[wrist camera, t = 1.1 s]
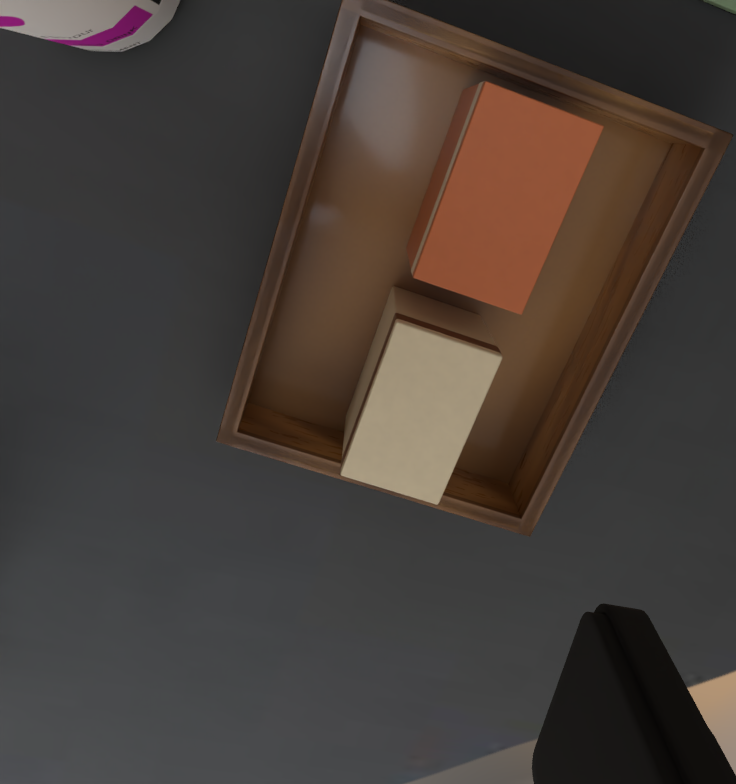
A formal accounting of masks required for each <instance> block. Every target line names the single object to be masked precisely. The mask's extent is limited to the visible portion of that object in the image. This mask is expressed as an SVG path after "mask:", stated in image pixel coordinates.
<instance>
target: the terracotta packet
mask: <svg viewBox="0 0 736 784" xmlns="http://www.w3.org/2000/svg"><path fill="white" fill-rule="evenodd" d="M603 128H604V126H603V125H600V124H598V123H595V122H593V121H590V120H587V119H585V118H582V117H580V116H577V115H574V114H572V113H569V112H566V111H564V110H561V109H559V108H556V107H553V106H551V105H548V104H545V103H543V102H540V101H538V100H535V99H532V98H530V97H527V96H525V95H522V94H519V93H517V92H514V91H511V90H509V89H506V88H504V87H501V86H498V85H496V84H493V83H490V82H488V81H483V82H480V83H479V84H477V85H474V86H471V87H469V88H466V89H463V91H462V94H461V97H460V99H459V102H458V105H457V108H456V111H455V113H454V116H453V119H452V122H451V124H450V127H449V130H448V133H447V136H446V138H445V141H444V144H443V147H442V150H441V152H440V155H439V158H438V161H437V163H436V166H435V169H434V172H433V175H432V177H431V180H430V183H429V186H428V189H427V191H426V194H425V197H424V200H423V202H422V205H421V208H420V211H419V214H418V216H417V219H416V222H415V225H414V228H413V230H412V233H411V236H410V239H409V241H408V244H407V247H406V251H407V255H408V259H409V263H410V267H411V273H412V276H413V278H415V279H418V280H421V281H424V282H427V283H430V284H433V285H436V286H439V287H442V288H444V289H447V290H450V291H453V292H456V293H459V294H462V295H465V296H468V297H471V298H474V299H477V300H479V301H482V302H485V303H488V304H491V305H494V306H497V307H500V308H503V309H506V310H509V311H512V312H514V313H517V314H522V313H523V311H524V308H525V306H526V304H527V302H528V299H529V297H530V295H531V292H532V290H533V288H534V286H535V283H536V281H537V279H538V277H539V274H540V272H541V270H542V267H543V265H544V263H545V261H546V258H547V256H548V254H549V251H550V249H551V247H552V245H553V242H554V240H555V238H556V235H557V233H558V231H559V229H560V226H561V224H562V222H563V219H564V217H565V215H566V213H567V210H568V208H569V206H570V203H571V201H572V199H573V197H574V194H575V192H576V190H577V188H578V185H579V183H580V181H581V178H582V176H583V174H584V172H585V169H586V167H587V165H588V162H589V160H590V158H591V156H592V153H593V151H594V149H595V146H596V144H597V142H598V140H599V137H600V135H601V133H602V130H603Z"/></svg>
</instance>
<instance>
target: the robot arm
mask: <svg viewBox="0 0 736 784" xmlns="http://www.w3.org/2000/svg"><path fill="white" fill-rule="evenodd" d="M532 761H533V762H532V772H533V781H534V784H736V775H735V774H734V772H733V770H732V768H731V766H730V764H729V762H728V761H727V759H726V757H725V755H724V753H723V751H722V749H721V748H720V746H719V744H718V742H717V740H716V738H715V737H714V735H713V734H712V732H711V731H710V729H709V728H708V726H707V724H706V723H705V721H704V719H703V717H702V715H701V714H700V711H699V710H698V708H697V706H696V704H695V702H694V700H693V698H692V697H691V695H690V693H689V691H688V689H687V687H686V685H685V684H684V682H683V680H682V678H681V676H680V674H679V672H678V671H677V669H676V667H675V665H674V663H673V661H672V659H671V658H670V656H669V654H668V652H667V650H666V648H665V646H664V644H663V643H662V641H661V639H660V637H659V635H658V633H657V631H656V630H655V628H654V626H653V624H652V622H651V620H650V618H649V617H648V615H647V614H646V613H645V612H644V611H642V610H639V609H633V608H627V607H621V606H615V605H609V604H600V605H599V606H598V607H597V608H596V610H595V612H594V613H592V612H586V613H585V614H584V615H583V616H582V618H581V620H580V623H579V626H578V629H577V632H576V634H575V637H574V640H573V643H572V646H571V648H570V651H569V654H568V657H567V660H566V662H565V665H564V668H563V671H562V674H561V676H560V679H559V682H558V685H557V688H556V690H555V693H554V696H553V699H552V702H551V704H550V707H549V710H548V713H547V715H546V718H545V721H544V724H543V727H542V729H541V732H540V735H539V738H538V741H537V743H536V747H535V749H534V753H533V760H532Z"/></svg>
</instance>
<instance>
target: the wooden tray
mask: <svg viewBox="0 0 736 784" xmlns="http://www.w3.org/2000/svg"><path fill="white" fill-rule="evenodd" d="M483 81H488V82H490V83H493V84H496V85H498V86H501V87H504V88H506V89H509V90H511V91H514V92H517V93H519V94H522V95H525V96H527V97H530V98H532V99H535V100H538V101H540V102H543V103H545V104H548V105H551V106H553V107H556V108H559V109H561V110H564V111H566V112H569V113H572V114H574V115H577V116H580V117H582V118H585V119H587V120H590V121H593V122H595V123H598V124H600V125H603V126H604V128H603V130H602V133H601V135H600V137H599V140H598V142H597V144H596V146H595V149H594V151H593V153H592V156H591V158H590V160H589V162H588V165H587V167H586V169H585V172H584V174H583V176H582V178H581V181H580V183H579V185H578V188H577V190H576V192H575V194H574V197H573V199H572V201H571V203H570V206H569V208H568V210H567V213H566V215H565V217H564V219H563V222H562V224H561V226H560V229H559V231H558V233H557V235H556V238H555V240H554V242H553V245H552V247H551V249H550V251H549V254H548V256H547V258H546V261H545V263H544V265H543V267H542V270H541V272H540V274H539V277H538V279H537V281H536V283H535V286H534V288H533V290H532V292H531V295H530V297H529V299H528V302H527V304H526V306H525V308H524V311H523V313H522V314H517V313H514V312H512V311H509V310H506V309H503V308H500V307H497V306H494V305H491V304H488V303H485V302H482V301H479V300H477V299H474V298H471V297H468V296H465V295H462V294H459V293H456V292H453V291H450V290H447V289H444V288H442V287H439V286H436V285H433V284H430V283H427V282H424V281H421V280H418V279H415V278H413V276H412V273H411V267H410V263H409V259H408V255H407V251H406V247H407V244H408V241H409V239H410V236H411V233H412V230H413V228H414V225H415V222H416V219H417V216H418V214H419V211H420V208H421V205H422V202H423V200H424V197H425V194H426V191H427V189H428V186H429V183H430V180H431V177H432V175H433V172H434V169H435V166H436V163H437V161H438V158H439V155H440V152H441V150H442V147H443V144H444V141H445V138H446V136H447V133H448V130H449V127H450V124H451V122H452V119H453V116H454V113H455V111H456V108H457V105H458V102H459V99H460V97H461V94H462V91H463V89H466V88H469V87H471V86H474V85H477V84H479V83H480V82H483ZM732 137H733V134H730V133H728V132H725V131H723V130H720V129H718V128H715V127H712V126H710V125H707V124H705V123H702V122H700V121H697V120H694V119H692V118H689V117H687V116H684V115H682V114H679V113H676V112H674V111H671V110H669V109H666V108H664V107H661V106H658V105H656V104H653V103H651V102H648V101H646V100H643V99H640V98H638V97H635V96H633V95H630V94H628V93H625V92H623V91H620V90H617V89H615V88H612V87H610V86H607V85H605V84H602V83H599V82H597V81H594V80H592V79H589V78H587V77H584V76H581V75H579V74H576V73H574V72H571V71H569V70H566V69H563V68H561V67H558V66H556V65H553V64H551V63H548V62H545V61H543V60H540V59H538V58H535V57H533V56H530V55H527V54H525V53H522V52H520V51H517V50H515V49H512V48H509V47H507V46H504V45H502V44H499V43H497V42H494V41H492V40H489V39H486V38H484V37H481V36H479V35H476V34H474V33H471V32H468V31H466V30H463V29H461V28H458V27H456V26H453V25H450V24H448V23H445V22H443V21H440V20H438V19H435V18H432V17H430V16H427V15H425V14H422V13H420V12H417V11H414V10H412V9H409V8H407V7H404V6H402V5H399V4H396V3H394V2H391V1H389V0H342V2H341V5H340V9H339V12H338V16H337V19H336V23H335V26H334V30H333V33H332V37H331V40H330V44H329V47H328V51H327V54H326V58H325V61H324V65H323V68H322V72H321V75H320V79H319V82H318V86H317V89H316V93H315V96H314V100H313V103H312V107H311V110H310V114H309V117H308V121H307V124H306V128H305V131H304V135H303V138H302V142H301V145H300V149H299V152H298V156H297V159H296V163H295V166H294V170H293V173H292V177H291V180H290V184H289V187H288V191H287V194H286V198H285V201H284V205H283V208H282V212H281V215H280V219H279V222H278V226H277V229H276V233H275V236H274V240H273V243H272V247H271V250H270V254H269V257H268V261H267V264H266V268H265V271H264V275H263V278H262V282H261V285H260V289H259V292H258V296H257V299H256V303H255V306H254V310H253V313H252V317H251V320H250V324H249V327H248V331H247V334H246V338H245V341H244V345H243V348H242V352H241V355H240V359H239V362H238V366H237V369H236V373H235V376H234V380H233V383H232V387H231V390H230V394H229V397H228V401H227V404H226V408H225V411H224V415H223V418H222V422H221V425H220V429H219V432H218V436H217V439H216V441H217V442H220V443H223V444H226V445H229V446H233V447H236V448H239V449H243V450H246V451H249V452H253V453H256V454H259V455H262V456H266V457H269V458H272V459H276V460H279V461H282V462H285V463H289V464H292V465H295V466H299V467H302V468H305V469H309V470H312V471H315V472H318V473H322V474H325V475H328V476H332V477H335V478H338V479H341V480H345V481H348V482H351V483H355V484H358V485H361V486H365V487H368V488H371V489H374V490H378V491H381V492H384V493H388V494H391V495H394V496H397V497H401V498H404V499H407V500H411V501H414V502H417V503H421V504H424V505H427V506H430V507H434V508H437V509H440V510H444V511H447V512H450V513H453V514H457V515H460V516H463V517H467V518H470V519H473V520H477V521H480V522H483V523H486V524H490V525H493V526H496V527H500V528H503V529H506V530H509V531H513V532H516V533H519V534H523V535H526V536H529V537H530V536H531V534H532V532H533V530H534V528H535V526H536V524H537V522H538V520H539V518H540V516H541V514H542V512H543V510H544V508H545V506H546V504H547V502H548V500H549V498H550V496H551V494H552V492H553V490H554V488H555V486H556V484H557V482H558V480H559V478H560V476H561V474H562V472H563V470H564V468H565V466H566V464H567V462H568V461H569V459H570V457H571V455H572V453H573V451H574V449H575V447H576V445H577V443H578V441H579V439H580V437H581V435H582V433H583V431H584V429H585V427H586V425H587V423H588V421H589V419H590V417H591V415H592V413H593V411H594V409H595V407H596V405H597V403H598V401H599V399H600V397H601V395H602V393H603V391H604V389H605V387H606V385H607V384H608V382H609V380H610V378H611V376H612V374H613V372H614V370H615V368H616V366H617V364H618V362H619V360H620V358H621V356H622V354H623V352H624V350H625V348H626V346H627V344H628V342H629V340H630V338H631V336H632V334H633V332H634V330H635V328H636V326H637V324H638V322H639V320H640V318H641V316H642V314H643V312H644V310H645V308H646V307H647V305H648V303H649V301H650V299H651V297H652V295H653V293H654V291H655V289H656V287H657V285H658V283H659V281H660V279H661V277H662V275H663V273H664V271H665V269H666V267H667V265H668V263H669V261H670V259H671V257H672V255H673V253H674V251H675V249H676V247H677V245H678V243H679V241H680V239H681V237H682V235H683V233H684V231H685V229H686V228H687V226H688V224H689V222H690V220H691V218H692V216H693V214H694V212H695V210H696V208H697V206H698V204H699V202H700V200H701V198H702V196H703V194H704V192H705V190H706V188H707V186H708V184H709V182H710V180H711V178H712V176H713V174H714V172H715V170H716V168H717V166H718V164H719V162H720V160H721V158H722V156H723V154H724V152H725V151H726V149H727V147H728V145H729V143H730V141H731V139H732ZM393 286H395V287H398V288H401V289H404V290H407V291H410V292H413V293H416V294H419V295H422V296H425V297H428V298H431V299H434V300H437V301H439V302H442V303H445V304H448V305H451V306H454V307H457V308H460V309H463V310H466V311H469V312H472V313H475V314H478V315H480V317H481V318H482V320H483V322H484V324H485V326H486V328H487V329H488V331H489V333H490V335H491V337H492V339H493V340H494V342H495V344H496V346H497V347H498V348H499V350H500V351H501V355H502V360H501V363H500V365H499V367H498V369H497V372H496V374H495V376H494V379H493V381H492V383H491V385H490V388H489V390H488V392H487V395H486V397H485V399H484V401H483V404H482V406H481V408H480V411H479V413H478V415H477V417H476V420H475V422H474V424H473V427H472V429H471V431H470V433H469V436H468V438H467V440H466V443H465V445H464V447H463V449H462V452H461V454H460V456H459V459H458V461H457V463H456V465H455V468H454V470H453V472H452V474H451V477H450V479H449V481H448V484H447V486H446V488H445V490H444V493H443V495H442V497H441V500H440V502H439V504H438V505H436V504H433V503H430V502H426V501H423V500H420V499H417V498H413V497H410V496H407V495H403V494H400V493H397V492H394V491H390V490H387V489H384V488H380V487H377V486H374V485H371V484H367V483H364V482H361V481H357V480H354V479H351V478H348V477H344V476H341V475H340V472H341V471H340V466H341V459H342V452H343V441H344V431H345V421H346V414H347V411H348V409H349V406H350V403H351V400H352V398H353V395H354V392H355V389H356V386H357V384H358V381H359V378H360V375H361V372H362V370H363V367H364V364H365V361H366V359H367V356H368V353H369V350H370V347H371V345H372V342H373V339H374V336H375V334H376V331H377V328H378V325H379V322H380V320H381V317H382V314H383V311H384V308H385V306H386V303H387V300H388V297H389V295H390V292H391V289H392V287H393Z"/></svg>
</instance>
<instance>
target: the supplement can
mask: <svg viewBox="0 0 736 784" xmlns="http://www.w3.org/2000/svg"><path fill="white" fill-rule="evenodd" d="M179 2H180V0H0V28H3V29H7V30H11V31H15V32H19V33H23V34H27V35H30V36H34V37H38V38H42V39H46V40H50V41H54V42H58V43H62V44H66V45H70V46H74V47H78V48H81V49H85V50H89V51H111V52H123V51H125V50H128V49H130V48H133V47H135V46H138V45H141V44H143V43H146V42H148V41H150V40H151V39H152V38H153V37H154V36H155V35H156V34H157V33H158V32H159V31H160V30H161V29H162V28H163V27H164V26H165V25H166V24H168V23H169V22H170V21H171V20H172V18H173V16H174V14H175V11H176V9H177V7H178V5H179Z"/></svg>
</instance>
